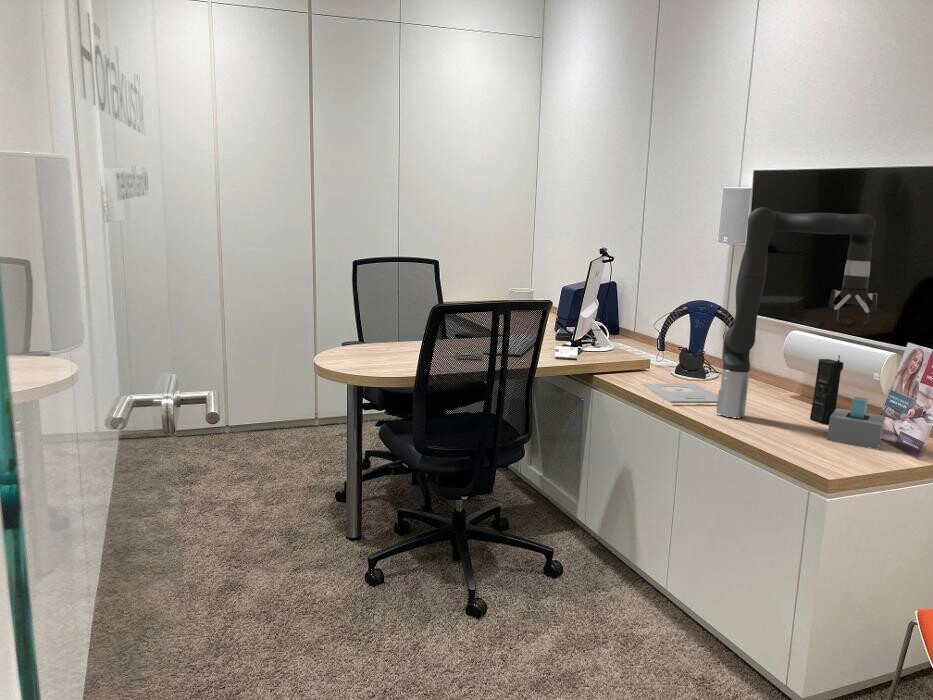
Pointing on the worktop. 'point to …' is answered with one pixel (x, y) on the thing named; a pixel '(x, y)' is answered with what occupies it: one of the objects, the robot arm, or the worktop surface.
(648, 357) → the worktop surface
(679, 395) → the award plaque
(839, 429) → the block
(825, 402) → the portable radio
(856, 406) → the teal rectangular block
